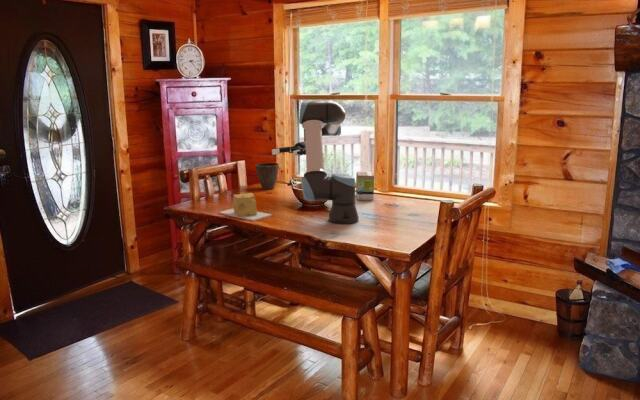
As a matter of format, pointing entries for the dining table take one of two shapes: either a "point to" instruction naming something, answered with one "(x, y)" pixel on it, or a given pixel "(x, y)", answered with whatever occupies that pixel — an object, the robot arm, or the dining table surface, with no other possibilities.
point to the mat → (247, 217)
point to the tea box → (365, 185)
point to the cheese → (244, 204)
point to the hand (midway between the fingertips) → (282, 153)
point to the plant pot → (267, 174)
